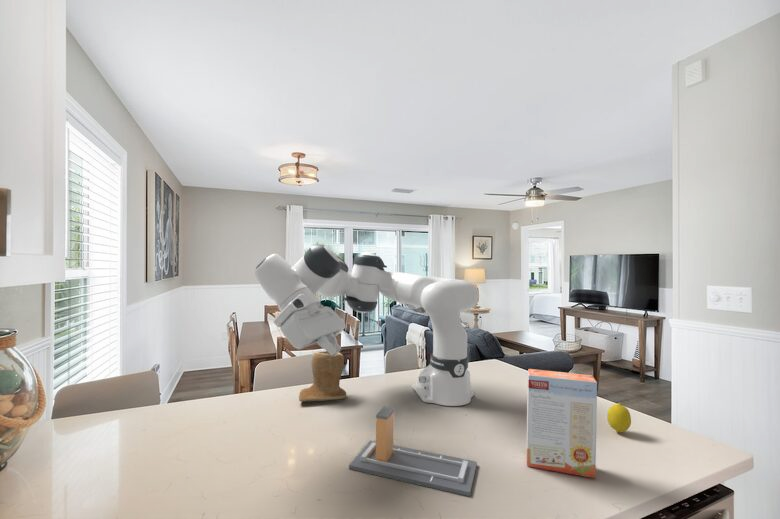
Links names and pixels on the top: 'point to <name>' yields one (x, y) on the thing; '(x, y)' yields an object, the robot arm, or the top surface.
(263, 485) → the top surface
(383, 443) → the fader cap
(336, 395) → the tan ugg boot
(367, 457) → the grey fader base
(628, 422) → the lemon
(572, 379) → the cracker box
